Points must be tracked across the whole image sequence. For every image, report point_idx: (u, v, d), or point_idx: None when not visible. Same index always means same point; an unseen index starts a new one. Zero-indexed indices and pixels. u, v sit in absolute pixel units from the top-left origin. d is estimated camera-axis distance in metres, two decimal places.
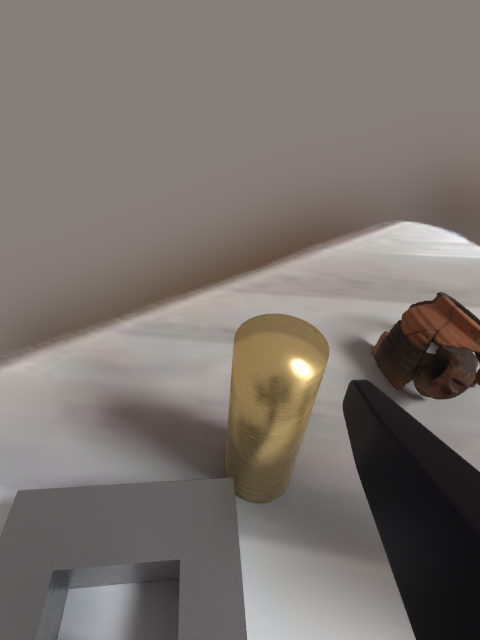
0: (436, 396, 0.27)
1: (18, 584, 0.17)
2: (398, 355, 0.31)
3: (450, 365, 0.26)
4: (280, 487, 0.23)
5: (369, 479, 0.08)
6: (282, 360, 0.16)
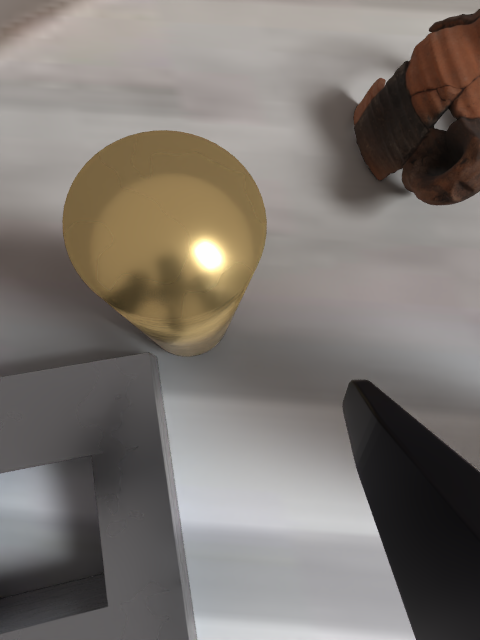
0: (427, 201, 0.19)
1: None
2: (390, 129, 0.20)
3: (464, 158, 0.17)
4: (213, 345, 0.18)
5: (369, 479, 0.08)
6: (166, 269, 0.08)
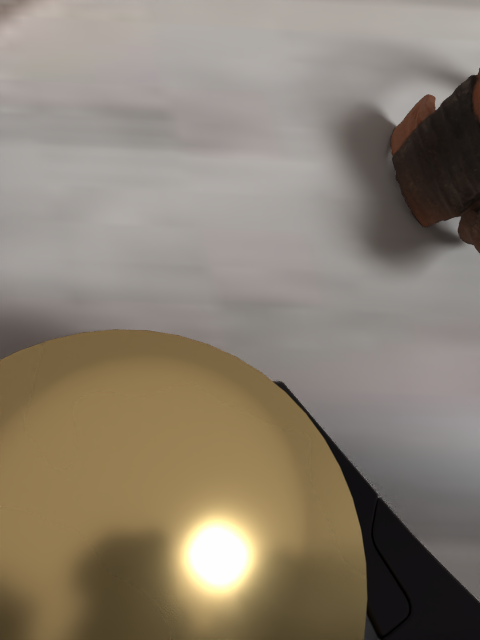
0: None
1: None
2: (445, 165, 0.15)
3: None
4: None
5: None
6: None
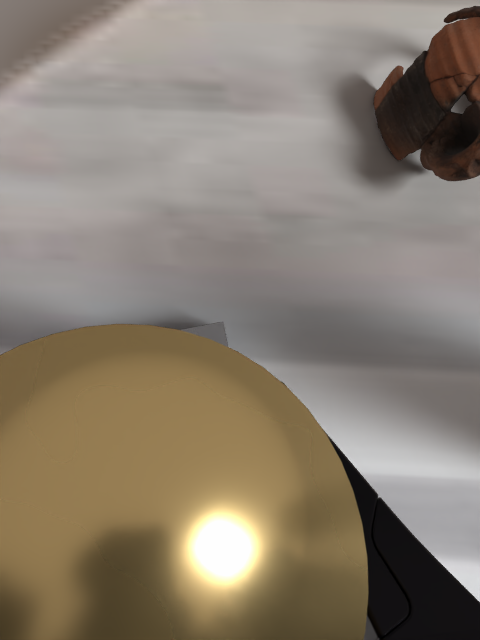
0: (445, 178, 0.22)
1: None
2: (410, 113, 0.23)
3: (479, 138, 0.20)
4: None
5: None
6: None
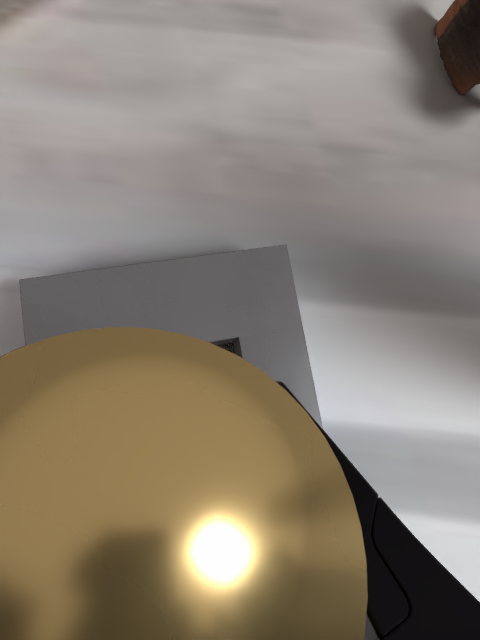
0: None
1: None
2: None
3: None
4: None
5: None
6: None
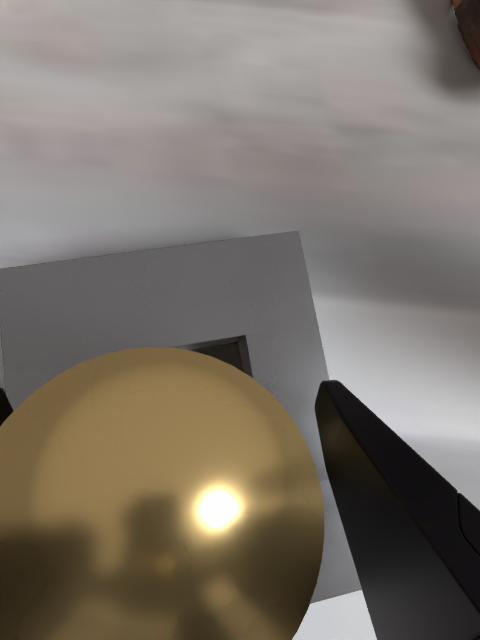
0: None
1: (51, 378, 0.13)
2: None
3: None
4: None
5: (336, 481, 0.08)
6: (147, 628, 0.04)
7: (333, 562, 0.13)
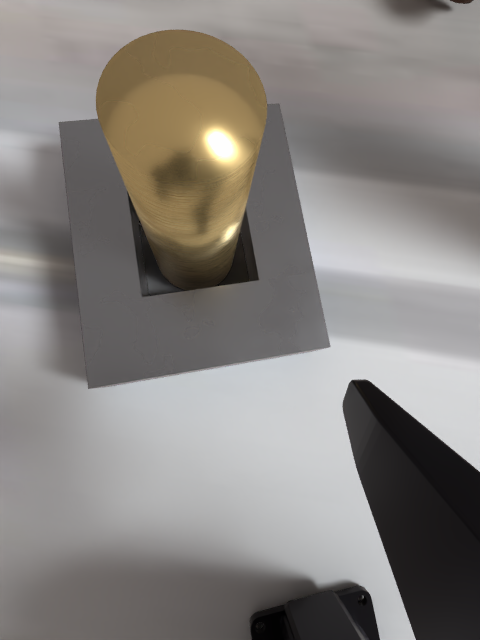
0: None
1: (99, 197, 0.18)
2: None
3: None
4: (219, 277, 0.20)
5: (369, 479, 0.08)
6: (183, 140, 0.10)
7: (302, 329, 0.18)
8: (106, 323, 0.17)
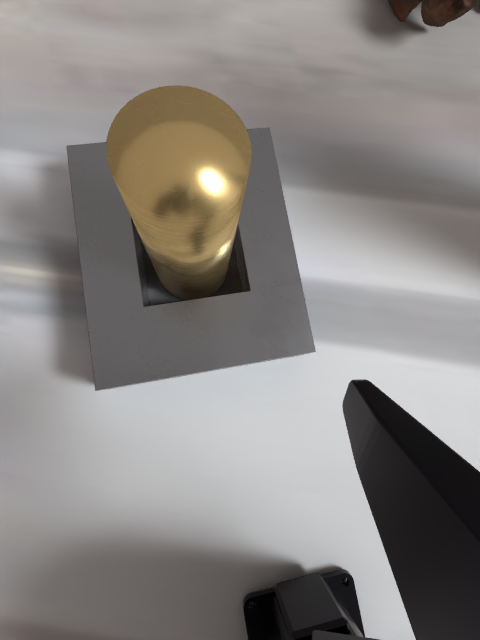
0: (443, 17, 0.25)
1: (104, 214, 0.20)
2: None
3: None
4: (214, 287, 0.22)
5: (369, 479, 0.08)
6: (180, 182, 0.11)
7: (290, 335, 0.20)
8: (111, 331, 0.19)
